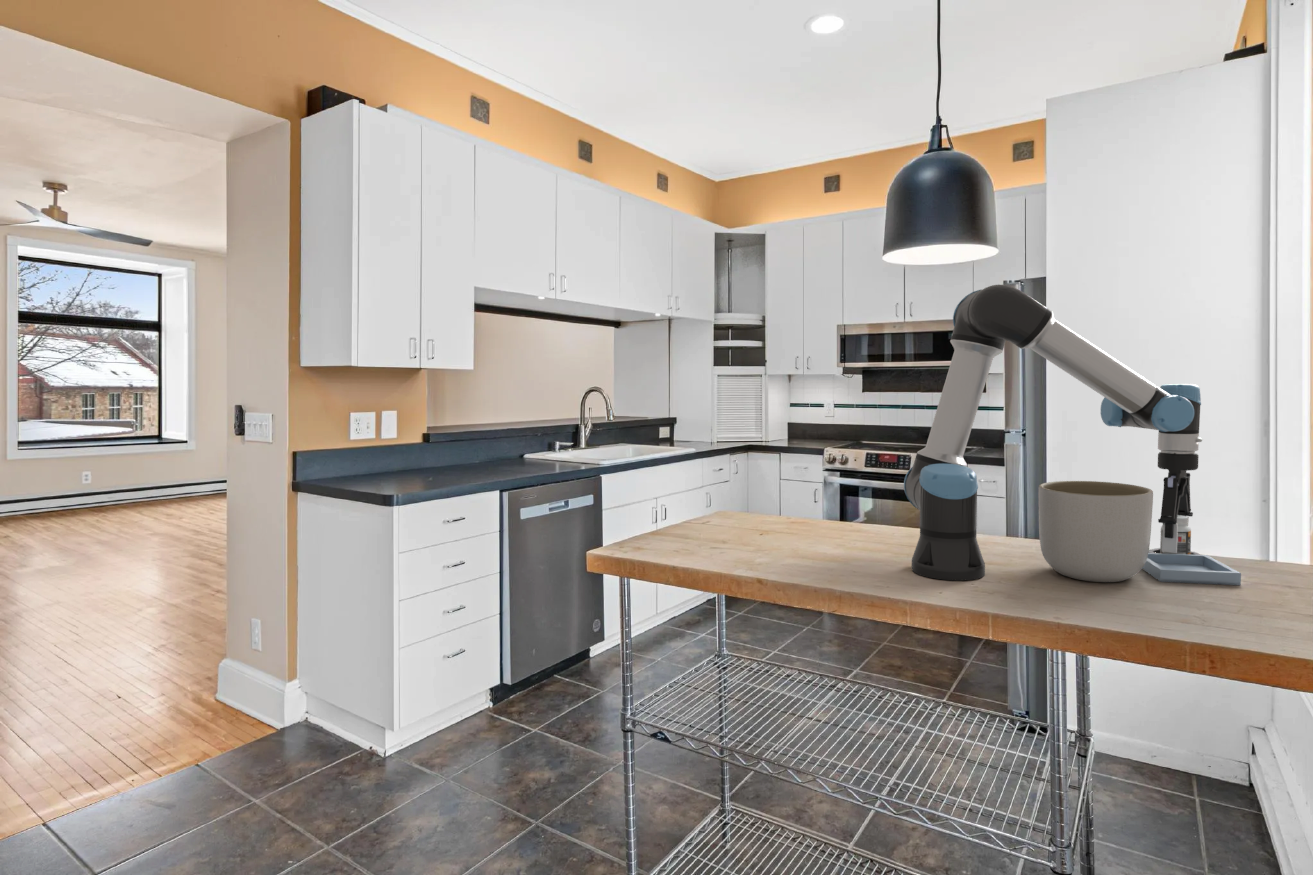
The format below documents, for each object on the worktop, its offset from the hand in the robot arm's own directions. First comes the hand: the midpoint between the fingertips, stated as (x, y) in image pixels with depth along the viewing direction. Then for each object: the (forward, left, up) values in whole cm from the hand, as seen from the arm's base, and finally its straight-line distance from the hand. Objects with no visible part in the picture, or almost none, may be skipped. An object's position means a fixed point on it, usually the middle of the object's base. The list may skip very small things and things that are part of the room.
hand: (1174, 547), depth 166 cm
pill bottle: (0, 0, -3) cm, 3 cm away
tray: (-3, -13, -3) cm, 14 cm away
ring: (0, 0, -3) cm, 3 cm away
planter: (-22, -18, -3) cm, 28 cm away
